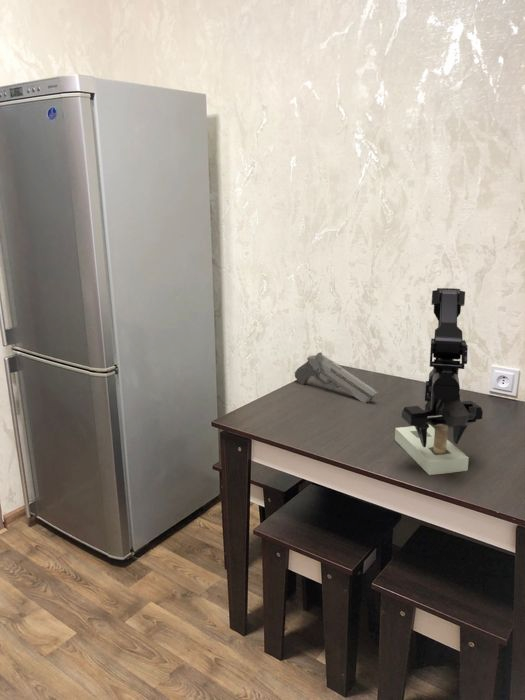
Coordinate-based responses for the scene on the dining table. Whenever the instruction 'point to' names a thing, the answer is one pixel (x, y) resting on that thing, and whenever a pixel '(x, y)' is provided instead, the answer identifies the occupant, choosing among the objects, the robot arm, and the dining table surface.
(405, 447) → the socket block
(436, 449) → the dowel
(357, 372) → the dining table surface
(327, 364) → the handgun
